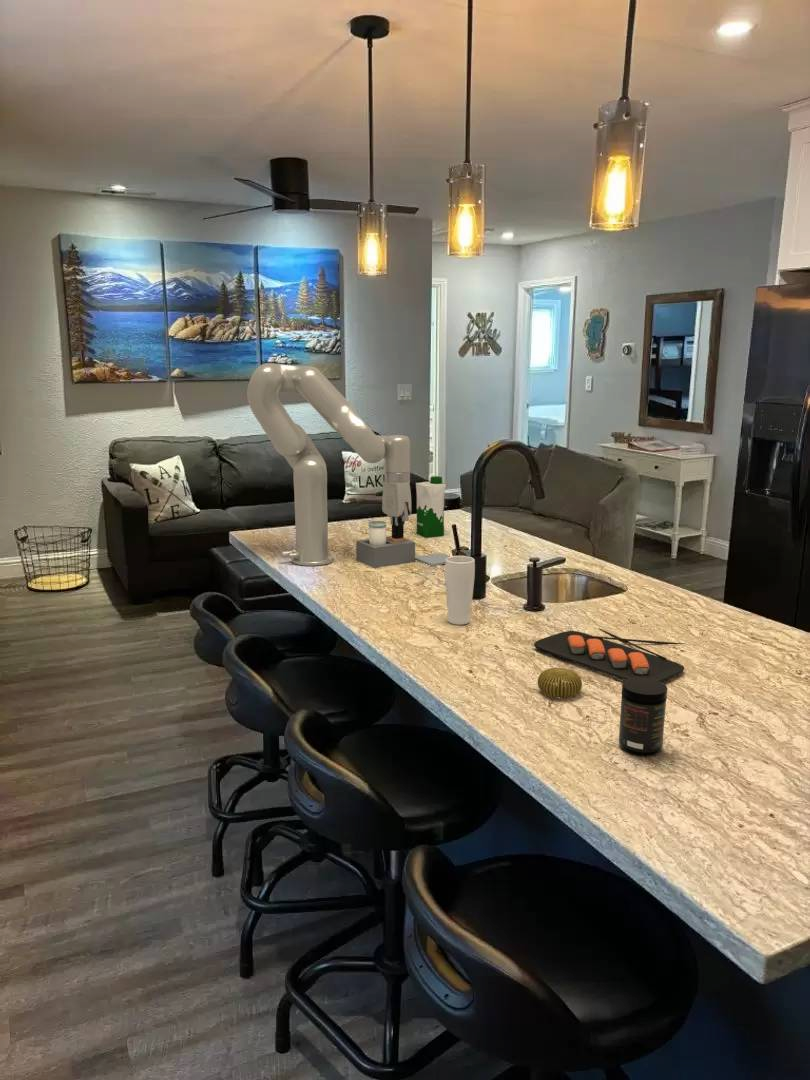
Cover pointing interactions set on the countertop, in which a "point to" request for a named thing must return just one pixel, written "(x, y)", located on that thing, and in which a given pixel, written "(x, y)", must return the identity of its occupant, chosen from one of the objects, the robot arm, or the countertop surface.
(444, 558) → the mat
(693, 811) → the countertop surface
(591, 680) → the countertop surface
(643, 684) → the supplement container
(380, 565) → the box
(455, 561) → the drinking glass
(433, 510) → the milk carton
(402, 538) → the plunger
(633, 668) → the sushi plate
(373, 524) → the cartridge
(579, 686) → the sculpture
